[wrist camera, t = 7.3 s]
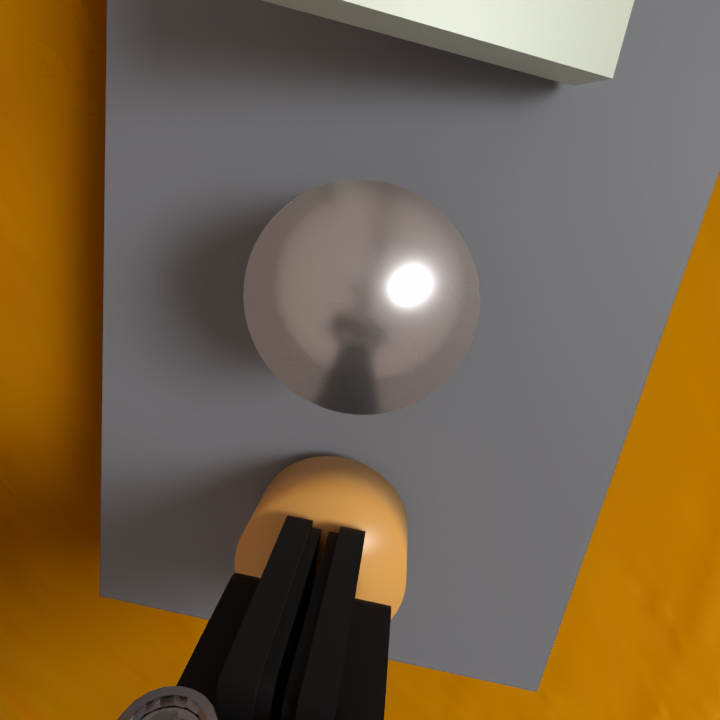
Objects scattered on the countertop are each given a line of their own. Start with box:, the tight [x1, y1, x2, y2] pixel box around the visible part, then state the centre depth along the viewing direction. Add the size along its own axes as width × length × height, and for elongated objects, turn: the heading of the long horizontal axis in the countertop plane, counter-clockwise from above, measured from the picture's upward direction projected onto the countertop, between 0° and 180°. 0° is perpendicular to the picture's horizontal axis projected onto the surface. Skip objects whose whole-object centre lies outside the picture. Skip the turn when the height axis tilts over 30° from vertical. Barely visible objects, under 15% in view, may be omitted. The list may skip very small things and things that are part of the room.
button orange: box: [235, 456, 408, 619], centre depth 12 cm, size 4×4×2 cm
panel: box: [100, 0, 720, 692], centre depth 12 cm, size 20×12×4 cm, turn 171°
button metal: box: [243, 179, 480, 415], centre depth 9 cm, size 4×4×2 cm
